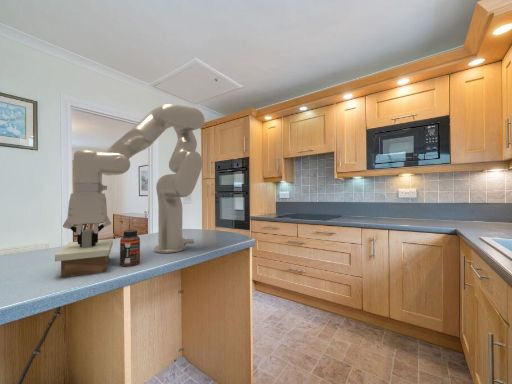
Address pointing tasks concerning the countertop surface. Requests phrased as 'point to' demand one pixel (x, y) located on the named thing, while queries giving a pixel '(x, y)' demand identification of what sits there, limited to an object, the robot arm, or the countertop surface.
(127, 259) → the supplement bottle
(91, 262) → the box
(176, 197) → the robot arm
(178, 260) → the countertop surface
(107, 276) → the countertop surface
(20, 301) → the countertop surface
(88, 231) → the lid
